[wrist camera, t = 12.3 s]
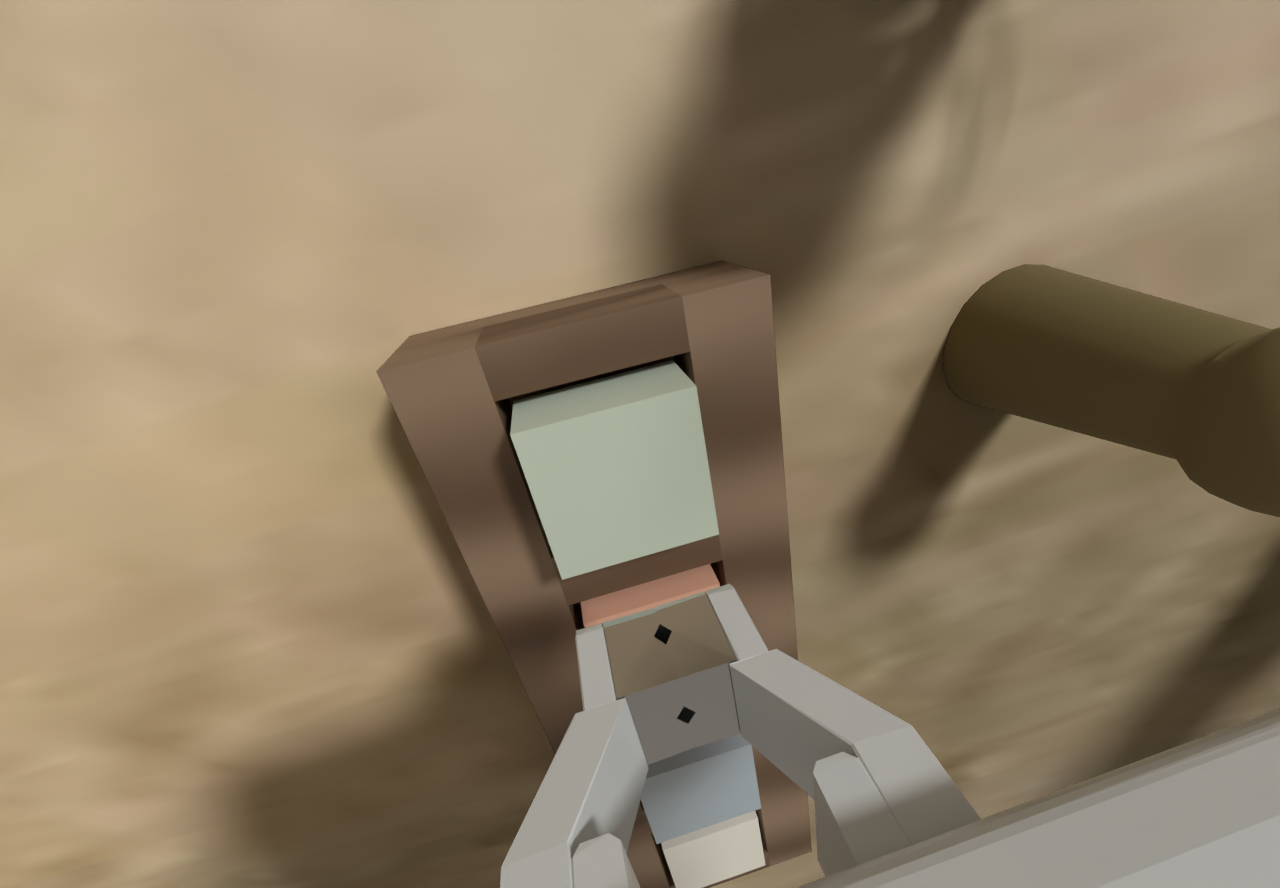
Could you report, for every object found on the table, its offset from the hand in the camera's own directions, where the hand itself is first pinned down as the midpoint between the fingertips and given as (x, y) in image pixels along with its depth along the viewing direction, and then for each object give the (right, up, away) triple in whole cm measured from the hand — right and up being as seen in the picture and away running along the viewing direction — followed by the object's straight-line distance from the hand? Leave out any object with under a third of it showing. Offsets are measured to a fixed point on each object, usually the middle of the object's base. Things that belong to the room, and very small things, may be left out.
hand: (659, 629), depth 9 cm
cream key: (+3, -17, +19) cm, 26 cm away
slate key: (+2, -11, +14) cm, 18 cm away
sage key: (-1, +3, +7) cm, 8 cm away
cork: (+15, +8, +12) cm, 21 cm away
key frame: (0, -6, +15) cm, 16 cm away
